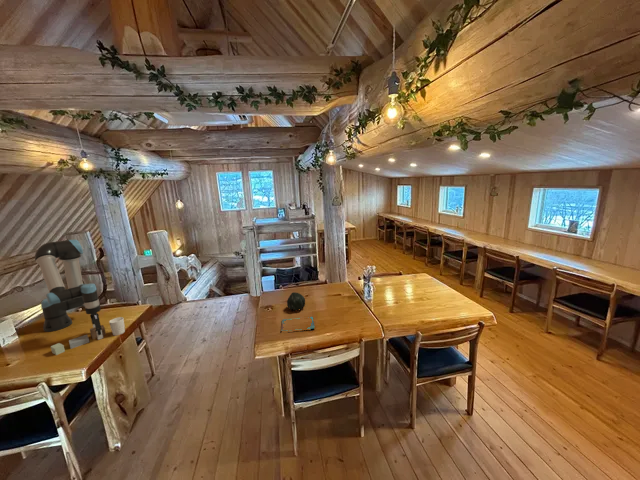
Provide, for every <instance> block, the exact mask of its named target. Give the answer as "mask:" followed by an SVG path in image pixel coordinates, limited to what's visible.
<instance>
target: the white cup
mask: <svg viewBox="0 0 640 480" xmlns="http://www.w3.org/2000/svg"><path fill="white" fill-rule="evenodd" d="M124 320H125V319H124V317H122V316H119V317H115V318H112V319H110V320H108V322H109V325H110V329H111V332H112V336H120V335H123V334H124V333H125V332H126V329H125V328H126V327H125V321H124Z"/></svg>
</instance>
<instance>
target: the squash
mask: <svg viewBox="0 0 640 480" xmlns="http://www.w3.org/2000/svg"><path fill="white" fill-rule="evenodd" d="M286 305H287V307H288V309H289V308H290V309H289V310H291V311H295V310H297V311H299V310H298V309H301V310H302V309H303V308H304V307H306V306H305V305H306V299H305V296H304V295H302V293H300V292H291V293H290V295H289V296H288V298H287V301H286ZM302 307H303V308H302ZM292 309H294V310H292Z"/></svg>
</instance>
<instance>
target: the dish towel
mask: <svg viewBox="0 0 640 480" xmlns="http://www.w3.org/2000/svg"><path fill="white" fill-rule="evenodd" d="M300 318H301V317H298V318H297V317H296V318H295V319H300ZM310 318H311V319H312V323H311V326H310V327H308V328H307V329H314V328H315V322H314V321H315V320H314V321H313V319H314V317H313V316H310ZM292 319H293V318H285V319H284V318H282V319H281V325H282V326H281V325H280V327H281V328H280V332H281V331H288V330H283V328H284V327H283V324H285V323H284V321H286V320H292ZM315 329H316V328H315ZM295 330H302V329H295ZM289 331H292V330H289Z"/></svg>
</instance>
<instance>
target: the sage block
mask: <svg viewBox="0 0 640 480" xmlns="http://www.w3.org/2000/svg"><path fill="white" fill-rule="evenodd" d="M50 349H51V351H50V352H51V353H52V354H53V355H55V356H58V355H60V354H62V353H63V354H64V353H65V352H66V350H65V345H64V344H62V343H60V342H58V343H56V344H53V345H51V346H50Z"/></svg>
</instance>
